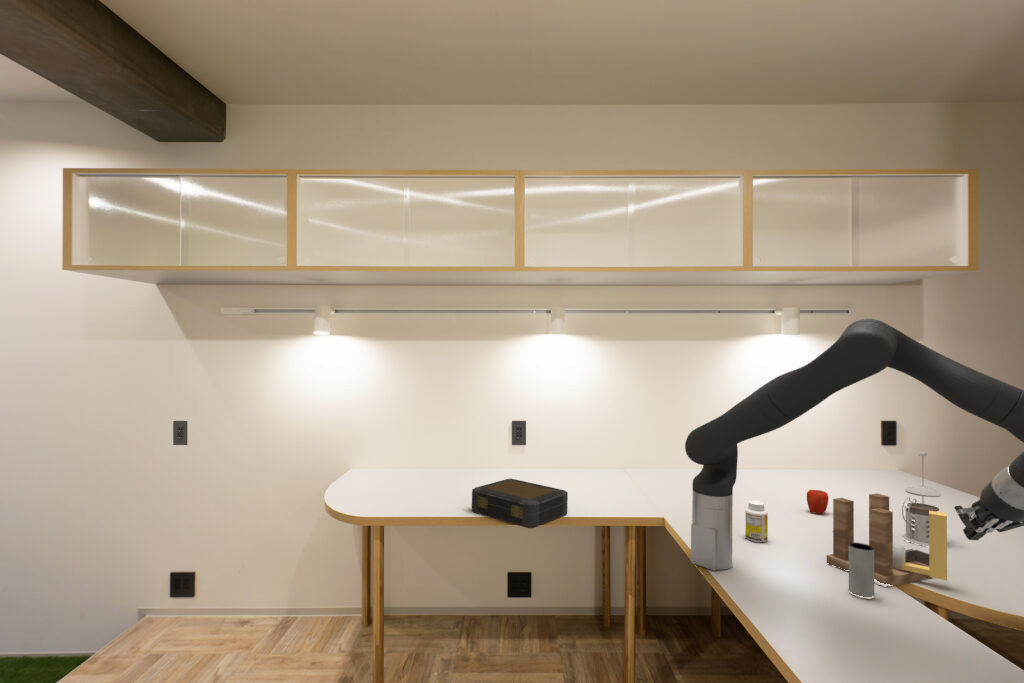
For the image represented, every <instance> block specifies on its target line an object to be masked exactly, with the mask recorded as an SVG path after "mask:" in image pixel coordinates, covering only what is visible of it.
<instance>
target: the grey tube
mask: <svg viewBox="0 0 1024 683" xmlns="http://www.w3.org/2000/svg"><path fill="white" fill-rule="evenodd" d="M849 591H850V592H852V593H853V594H856V595H859V596H863V597H872V596H874V597H875V583H874V548H873V547H872V546H870V545H869V544H867V543H863V542H855V541H854V542H853V543H849V572H848V592H849Z"/></svg>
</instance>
